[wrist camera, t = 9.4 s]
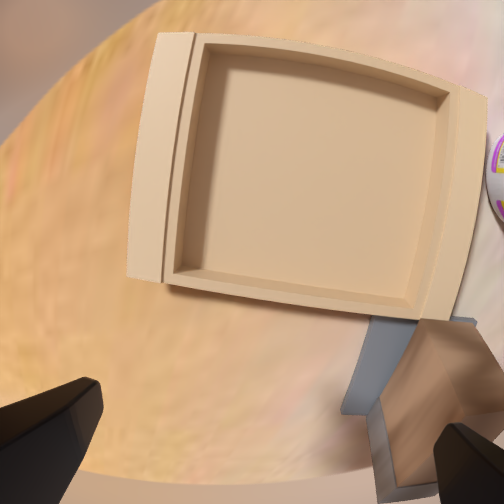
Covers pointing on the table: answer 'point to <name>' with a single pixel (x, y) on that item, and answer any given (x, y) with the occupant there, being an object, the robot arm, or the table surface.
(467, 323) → the box
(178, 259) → the tray
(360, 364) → the coaster
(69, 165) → the table surface
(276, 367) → the table surface
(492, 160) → the supplement bottle
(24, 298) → the table surface
